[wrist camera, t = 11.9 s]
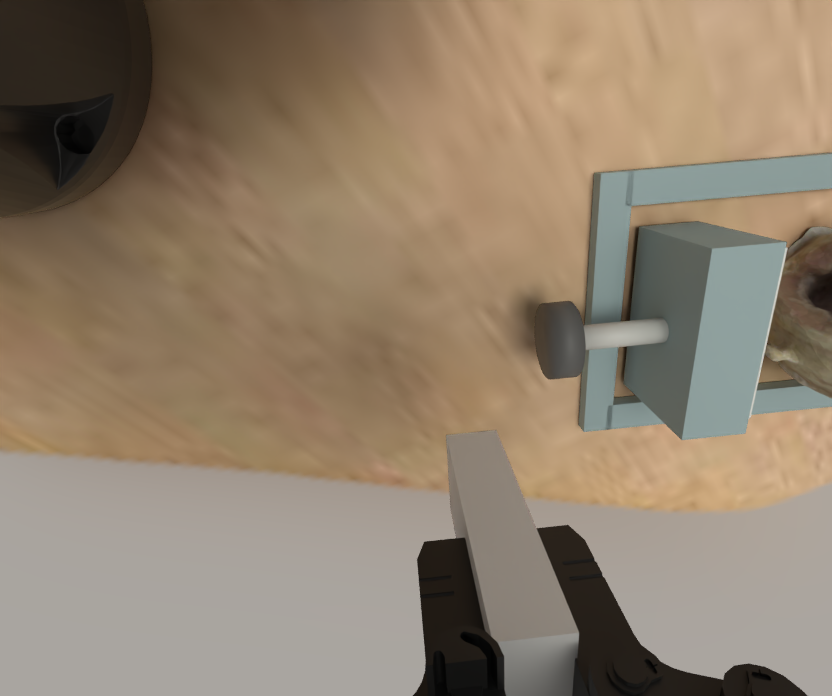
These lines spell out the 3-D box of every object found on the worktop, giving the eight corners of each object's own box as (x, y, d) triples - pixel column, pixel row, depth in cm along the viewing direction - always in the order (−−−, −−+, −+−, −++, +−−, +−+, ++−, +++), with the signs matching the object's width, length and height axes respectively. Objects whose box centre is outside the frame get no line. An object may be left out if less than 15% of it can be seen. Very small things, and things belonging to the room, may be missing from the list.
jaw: (526, 393, 27) (561, 452, 22) (528, 236, 24) (570, 261, 19) (685, 377, 28) (758, 432, 22) (709, 220, 24) (801, 240, 19)
